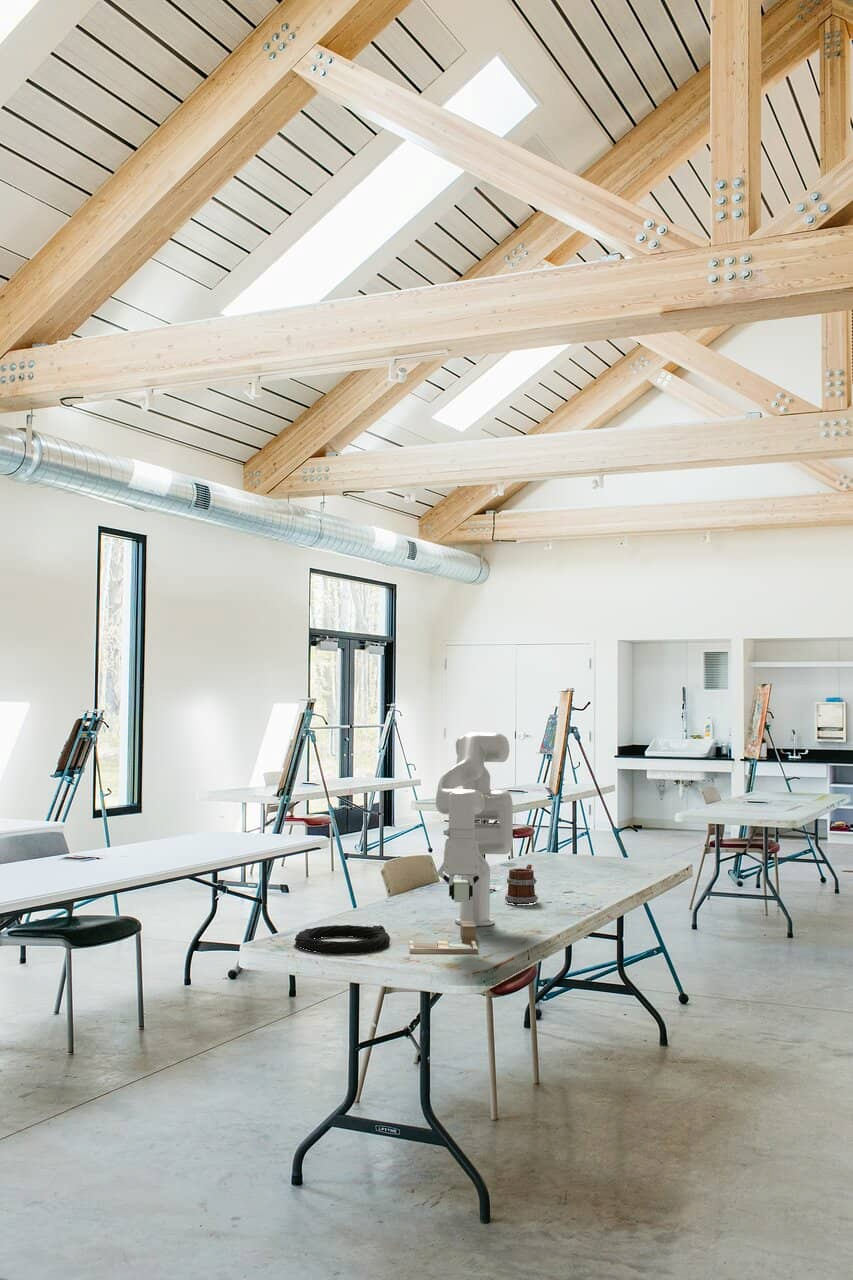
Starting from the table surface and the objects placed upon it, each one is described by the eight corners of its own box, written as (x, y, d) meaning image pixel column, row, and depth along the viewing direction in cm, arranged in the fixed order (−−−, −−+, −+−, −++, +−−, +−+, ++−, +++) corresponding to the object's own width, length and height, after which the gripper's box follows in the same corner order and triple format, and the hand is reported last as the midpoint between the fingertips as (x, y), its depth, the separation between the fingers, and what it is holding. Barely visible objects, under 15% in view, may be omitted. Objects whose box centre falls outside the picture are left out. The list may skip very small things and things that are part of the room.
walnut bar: (460, 937, 332) (460, 920, 333) (473, 937, 332) (473, 920, 333) (462, 943, 323) (462, 926, 324) (475, 943, 323) (476, 926, 324)
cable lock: (274, 932, 318) (349, 919, 340) (274, 946, 318) (349, 931, 340) (341, 946, 300) (415, 931, 322) (341, 961, 300) (415, 944, 322)
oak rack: (409, 943, 321) (409, 939, 322) (474, 944, 322) (474, 939, 322) (410, 953, 308) (410, 948, 309) (477, 953, 309) (477, 949, 309)
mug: (498, 904, 390) (501, 861, 394) (512, 905, 403) (515, 863, 406) (529, 906, 385) (532, 863, 389) (543, 908, 398) (545, 865, 401)
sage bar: (452, 897, 321) (453, 879, 321) (466, 897, 321) (466, 879, 322) (454, 902, 312) (454, 884, 312) (468, 902, 312) (469, 884, 313)
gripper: (432, 835, 314) (432, 901, 313) (491, 836, 315) (491, 901, 313) (432, 833, 322) (431, 896, 320) (489, 833, 322) (488, 897, 321)
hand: (460, 898), depth 317 cm, fingers closed on sage bar, 4 cm apart
